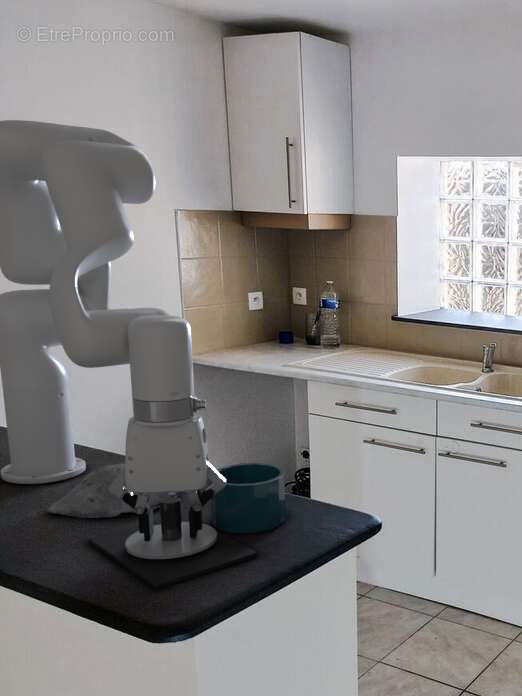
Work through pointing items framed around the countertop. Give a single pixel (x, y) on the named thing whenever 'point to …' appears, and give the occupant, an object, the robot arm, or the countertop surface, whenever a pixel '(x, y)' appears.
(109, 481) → the stone
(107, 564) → the countertop surface
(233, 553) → the mat
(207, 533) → the lid
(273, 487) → the pot
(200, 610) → the countertop surface
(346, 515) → the countertop surface
